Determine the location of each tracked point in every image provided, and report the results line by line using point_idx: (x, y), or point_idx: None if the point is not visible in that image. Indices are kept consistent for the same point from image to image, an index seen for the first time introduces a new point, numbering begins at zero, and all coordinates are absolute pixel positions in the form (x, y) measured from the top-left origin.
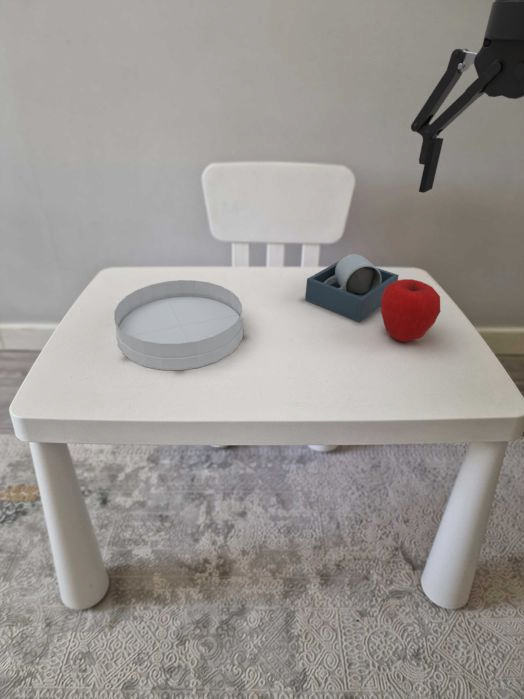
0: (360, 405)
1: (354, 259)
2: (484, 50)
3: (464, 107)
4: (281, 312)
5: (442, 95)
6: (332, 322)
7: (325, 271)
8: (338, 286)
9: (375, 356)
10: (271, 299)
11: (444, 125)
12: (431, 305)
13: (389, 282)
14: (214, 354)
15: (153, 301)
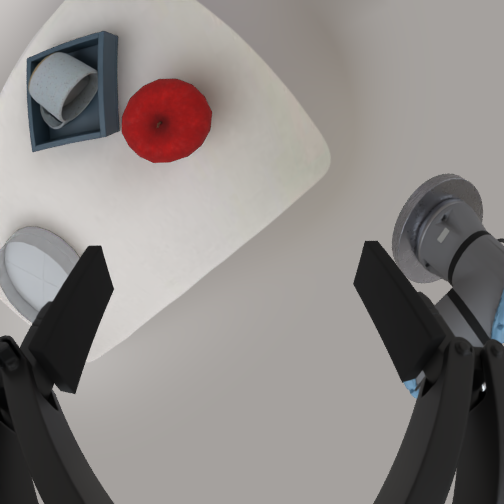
0: (210, 252)
1: (43, 91)
2: None
3: (98, 495)
4: (54, 186)
5: (31, 498)
6: (98, 156)
7: (32, 115)
8: None
9: (175, 178)
10: (31, 174)
11: (64, 427)
12: (202, 136)
13: (103, 58)
14: None
15: (6, 270)
